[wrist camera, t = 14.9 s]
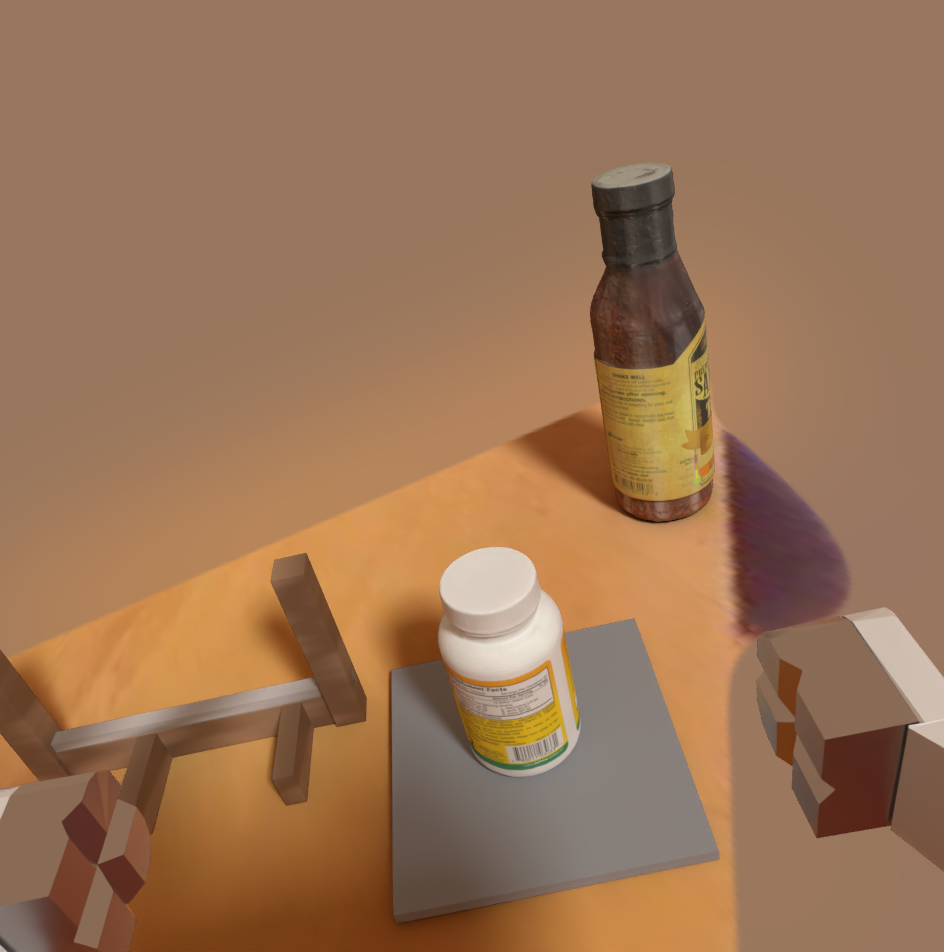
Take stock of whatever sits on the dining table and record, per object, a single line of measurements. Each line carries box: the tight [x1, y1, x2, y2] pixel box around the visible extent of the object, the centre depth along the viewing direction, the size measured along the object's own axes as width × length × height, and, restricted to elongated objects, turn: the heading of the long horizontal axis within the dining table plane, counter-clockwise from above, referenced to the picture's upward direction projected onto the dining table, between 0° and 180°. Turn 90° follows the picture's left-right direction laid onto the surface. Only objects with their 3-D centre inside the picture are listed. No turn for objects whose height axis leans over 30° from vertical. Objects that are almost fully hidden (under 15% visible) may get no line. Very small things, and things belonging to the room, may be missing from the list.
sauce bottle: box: [590, 163, 715, 522], centre depth 46 cm, size 6×6×20 cm
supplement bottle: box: [438, 547, 581, 777], centre depth 35 cm, size 5×5×10 cm
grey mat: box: [392, 618, 719, 923], centre depth 38 cm, size 13×13×1 cm
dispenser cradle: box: [0, 553, 367, 834], centre depth 38 cm, size 17×6×10 cm, turn 95°
